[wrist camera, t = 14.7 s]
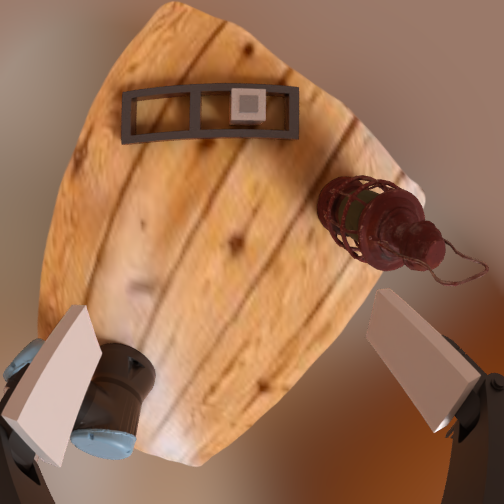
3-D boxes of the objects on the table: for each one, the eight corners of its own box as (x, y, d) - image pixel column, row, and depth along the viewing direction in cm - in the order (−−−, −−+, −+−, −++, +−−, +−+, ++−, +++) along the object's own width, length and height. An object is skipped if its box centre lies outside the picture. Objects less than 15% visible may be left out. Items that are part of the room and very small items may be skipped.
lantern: (371, 169, 44) (514, 207, 16) (373, 233, 48) (491, 314, 21) (308, 174, 43) (441, 220, 15) (314, 243, 48) (416, 353, 20)
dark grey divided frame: (127, 144, 38) (121, 144, 35) (128, 95, 35) (122, 92, 32) (293, 140, 41) (298, 139, 38) (293, 91, 38) (298, 87, 35)
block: (229, 125, 39) (231, 119, 32) (229, 98, 37) (231, 87, 31) (258, 125, 40) (266, 120, 33) (258, 98, 38) (266, 88, 31)
